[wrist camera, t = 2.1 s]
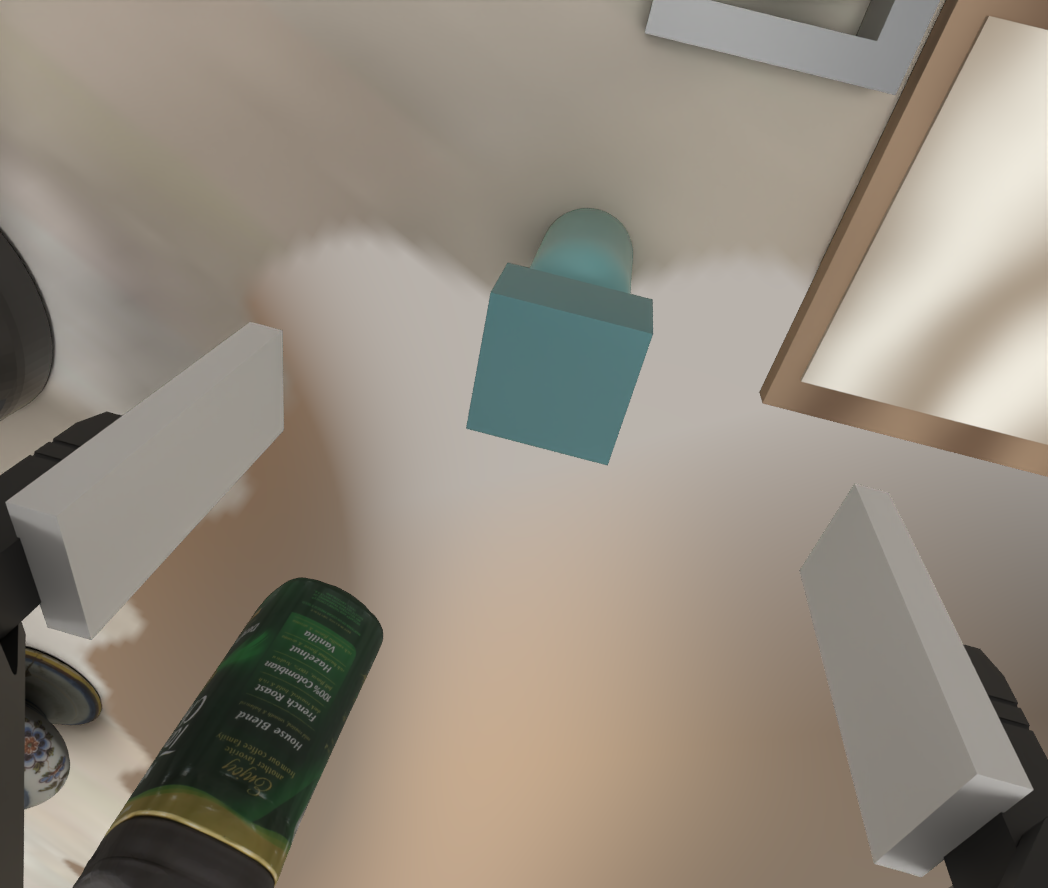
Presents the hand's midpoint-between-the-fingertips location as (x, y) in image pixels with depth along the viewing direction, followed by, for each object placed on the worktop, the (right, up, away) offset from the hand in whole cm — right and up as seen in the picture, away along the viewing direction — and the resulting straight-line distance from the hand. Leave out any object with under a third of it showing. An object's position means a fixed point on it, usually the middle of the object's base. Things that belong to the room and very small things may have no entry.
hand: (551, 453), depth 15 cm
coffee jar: (-14, -11, +28) cm, 34 cm away
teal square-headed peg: (+2, +8, +12) cm, 15 cm away
